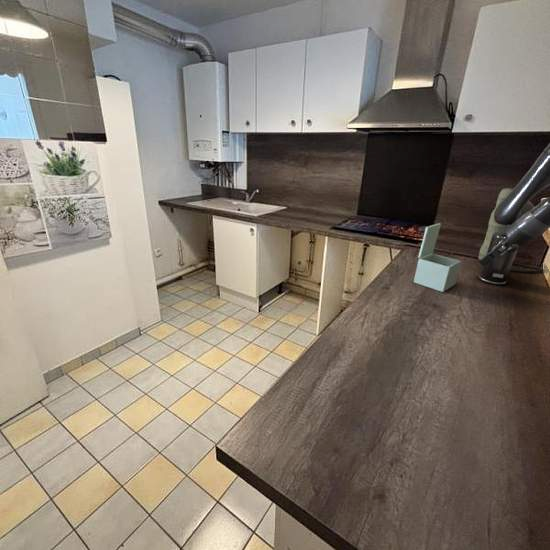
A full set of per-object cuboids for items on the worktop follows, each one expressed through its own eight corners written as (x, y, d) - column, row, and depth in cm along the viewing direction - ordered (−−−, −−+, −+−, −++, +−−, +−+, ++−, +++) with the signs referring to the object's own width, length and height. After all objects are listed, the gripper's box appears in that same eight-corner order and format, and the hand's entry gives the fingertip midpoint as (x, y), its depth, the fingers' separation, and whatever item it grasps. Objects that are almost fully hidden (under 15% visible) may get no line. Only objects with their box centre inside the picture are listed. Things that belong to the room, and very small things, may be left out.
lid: (441, 223, 117) (429, 221, 120) (428, 227, 110) (415, 224, 114) (433, 252, 122) (421, 249, 126) (420, 258, 115) (408, 254, 119)
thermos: (501, 259, 148) (526, 188, 134) (494, 264, 141) (519, 190, 127) (482, 255, 154) (503, 186, 140) (474, 259, 147) (496, 188, 133)
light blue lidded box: (454, 284, 119) (461, 260, 115) (442, 292, 112) (449, 267, 108) (426, 275, 127) (431, 253, 123) (413, 282, 120) (418, 258, 116)
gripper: (531, 243, 85) (486, 274, 98) (545, 228, 93) (502, 259, 105) (509, 226, 88) (468, 259, 101) (524, 213, 95) (484, 245, 108)
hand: (485, 259), depth 103 cm, fingers open, 8 cm apart
